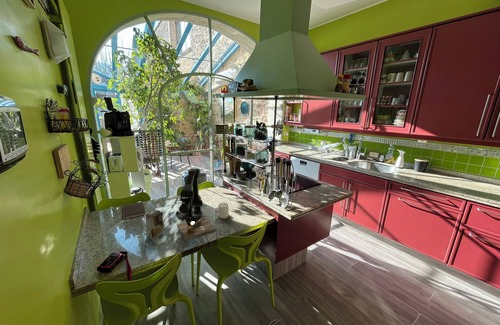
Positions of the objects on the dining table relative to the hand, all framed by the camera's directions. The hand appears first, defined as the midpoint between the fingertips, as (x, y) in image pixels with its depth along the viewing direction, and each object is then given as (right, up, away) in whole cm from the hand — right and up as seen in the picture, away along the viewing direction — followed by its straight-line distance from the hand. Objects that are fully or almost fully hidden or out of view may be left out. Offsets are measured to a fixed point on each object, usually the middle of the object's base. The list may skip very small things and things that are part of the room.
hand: (188, 225), depth 145 cm
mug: (+21, +1, +20) cm, 29 cm away
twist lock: (+3, -1, +3) cm, 5 cm away
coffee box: (-21, -5, -5) cm, 22 cm away
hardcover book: (-55, +4, +27) cm, 61 cm away
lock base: (+4, -3, +4) cm, 6 cm away
